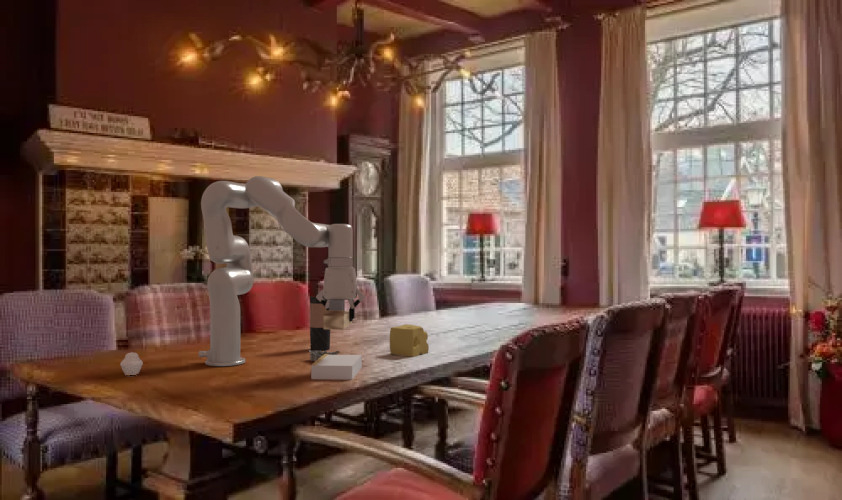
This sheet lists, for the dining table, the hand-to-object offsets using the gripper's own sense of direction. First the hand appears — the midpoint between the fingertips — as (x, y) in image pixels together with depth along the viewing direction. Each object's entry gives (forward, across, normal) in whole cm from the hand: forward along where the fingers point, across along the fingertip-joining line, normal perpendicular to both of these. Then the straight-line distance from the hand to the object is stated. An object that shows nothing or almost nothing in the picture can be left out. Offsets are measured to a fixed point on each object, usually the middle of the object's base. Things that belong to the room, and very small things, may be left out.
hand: (340, 320), depth 202 cm
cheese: (+16, +19, +32) cm, 40 cm away
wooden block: (+1, 0, -4) cm, 4 cm away
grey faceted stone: (+16, -61, -12) cm, 64 cm away
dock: (+16, 0, -5) cm, 16 cm away
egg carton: (+16, -9, +16) cm, 24 cm away
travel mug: (+16, -15, +40) cm, 45 cm away
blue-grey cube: (-3, 0, -4) cm, 5 cm away
